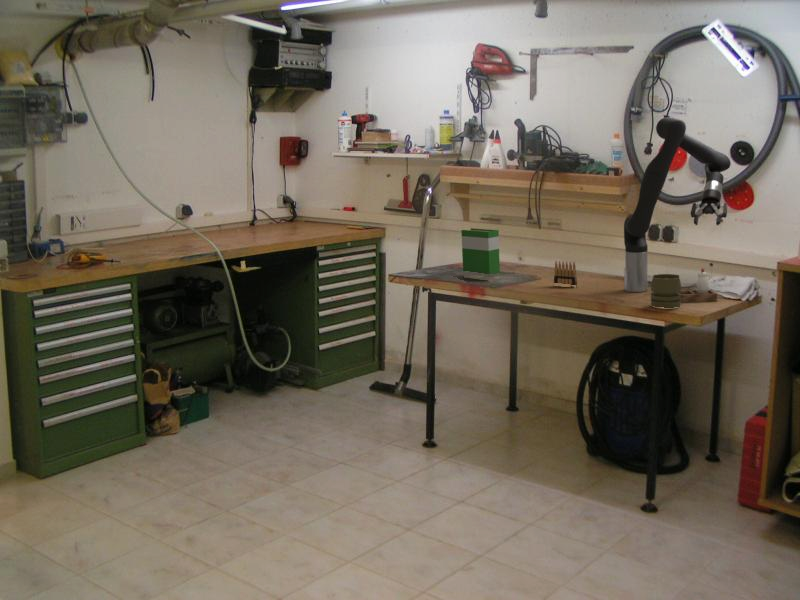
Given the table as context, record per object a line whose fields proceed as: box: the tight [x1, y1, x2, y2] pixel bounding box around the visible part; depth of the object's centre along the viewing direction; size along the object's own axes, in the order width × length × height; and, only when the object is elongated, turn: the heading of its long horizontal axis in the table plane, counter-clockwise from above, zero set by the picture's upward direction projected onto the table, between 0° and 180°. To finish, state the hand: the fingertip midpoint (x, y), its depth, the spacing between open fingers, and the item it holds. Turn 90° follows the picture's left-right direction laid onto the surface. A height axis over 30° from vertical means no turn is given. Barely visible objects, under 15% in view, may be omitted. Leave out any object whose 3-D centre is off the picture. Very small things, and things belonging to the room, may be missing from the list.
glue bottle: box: [695, 267, 710, 294], centre depth 349 cm, size 5×5×12 cm
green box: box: [460, 227, 501, 274], centre depth 421 cm, size 18×7×24 cm, turn 42°
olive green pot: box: [650, 273, 682, 308], centre depth 340 cm, size 11×12×11 cm
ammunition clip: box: [553, 260, 578, 286], centre depth 390 cm, size 11×2×12 cm, turn 54°
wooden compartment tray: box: [678, 289, 718, 303], centre depth 350 cm, size 17×9×3 cm, turn 86°
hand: (706, 224), depth 360 cm, fingers open, 8 cm apart
